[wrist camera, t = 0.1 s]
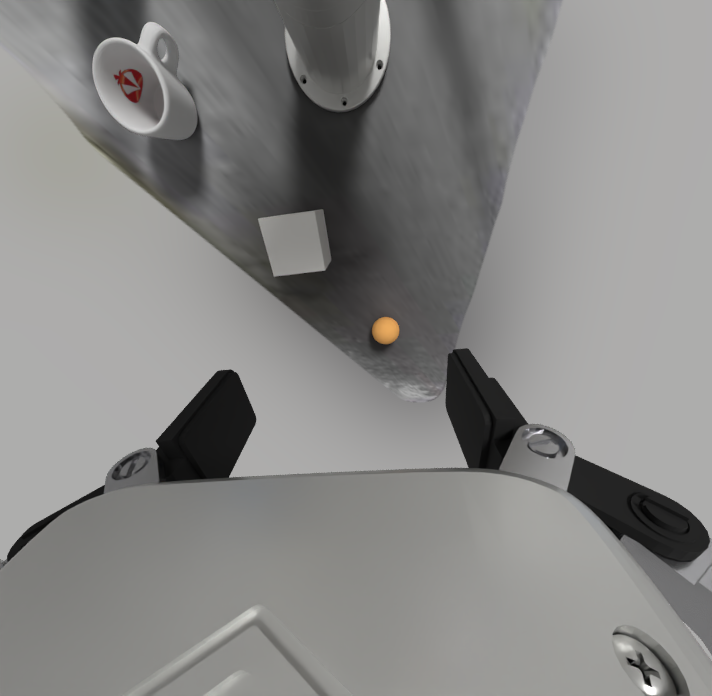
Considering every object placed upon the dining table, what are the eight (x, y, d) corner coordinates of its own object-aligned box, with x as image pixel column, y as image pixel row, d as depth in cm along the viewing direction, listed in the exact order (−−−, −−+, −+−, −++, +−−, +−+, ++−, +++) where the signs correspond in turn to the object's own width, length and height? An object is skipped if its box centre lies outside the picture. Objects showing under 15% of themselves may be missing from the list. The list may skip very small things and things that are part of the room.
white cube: (275, 215, 41) (257, 218, 34) (323, 209, 41) (314, 210, 34) (287, 265, 45) (273, 276, 38) (331, 259, 44) (325, 270, 37)
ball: (370, 314, 49) (370, 325, 45) (397, 311, 48) (400, 322, 44) (372, 337, 51) (373, 350, 47) (398, 335, 51) (401, 347, 47)
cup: (156, 25, 31) (96, -25, 24) (220, 73, 33) (181, 39, 26) (141, 123, 36) (87, 104, 29) (197, 160, 38) (160, 151, 31)
